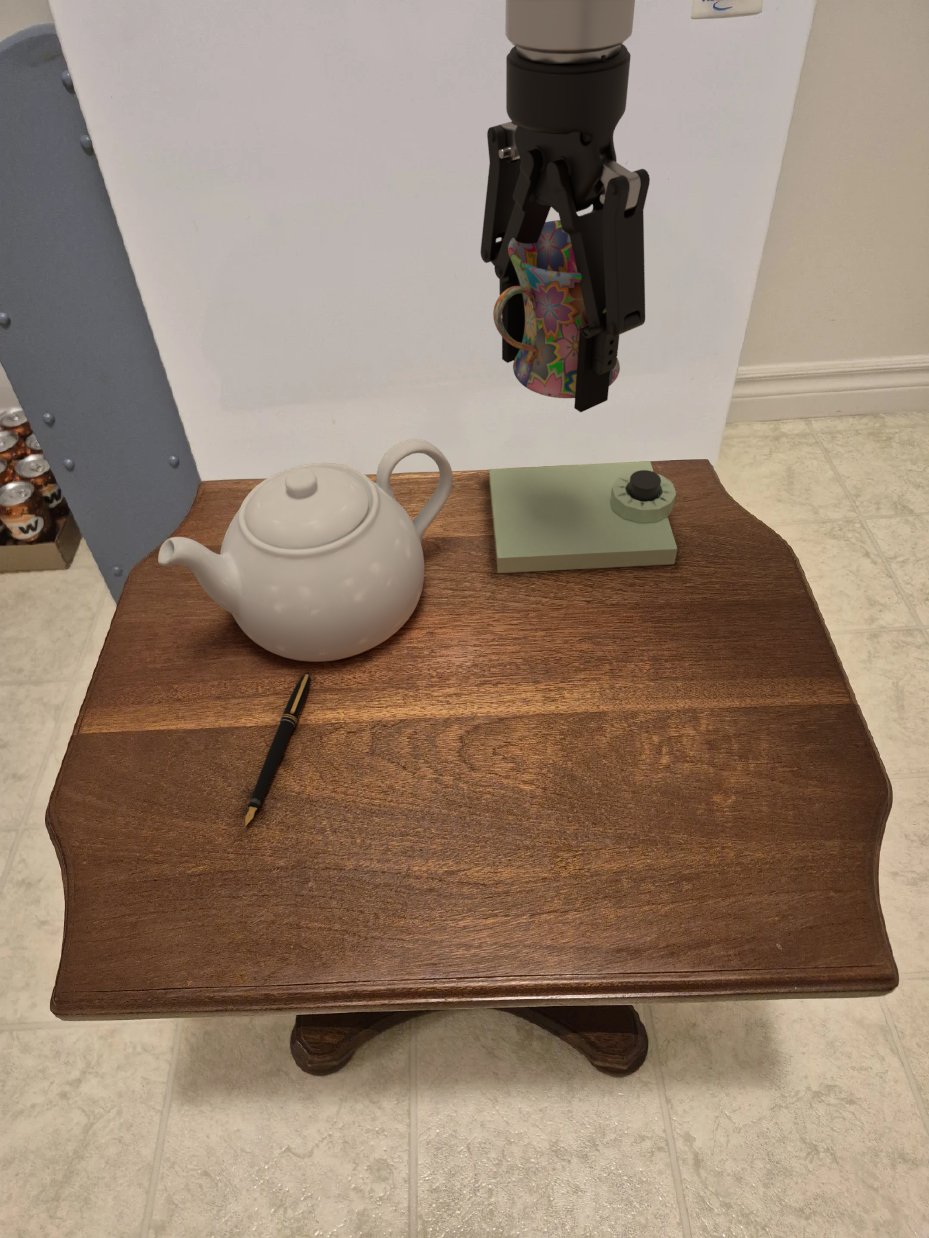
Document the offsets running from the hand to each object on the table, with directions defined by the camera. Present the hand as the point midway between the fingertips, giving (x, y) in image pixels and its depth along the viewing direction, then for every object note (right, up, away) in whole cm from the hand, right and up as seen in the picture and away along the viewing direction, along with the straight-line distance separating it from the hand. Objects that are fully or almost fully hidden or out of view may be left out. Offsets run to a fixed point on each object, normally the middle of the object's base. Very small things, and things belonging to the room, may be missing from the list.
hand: (553, 379), depth 67 cm
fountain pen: (-21, -29, -3) cm, 36 cm away
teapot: (-19, -17, +8) cm, 27 cm away
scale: (+4, -10, +13) cm, 17 cm away
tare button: (+10, -7, +11) cm, 16 cm away
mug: (0, 0, 0) cm, 1 cm away
